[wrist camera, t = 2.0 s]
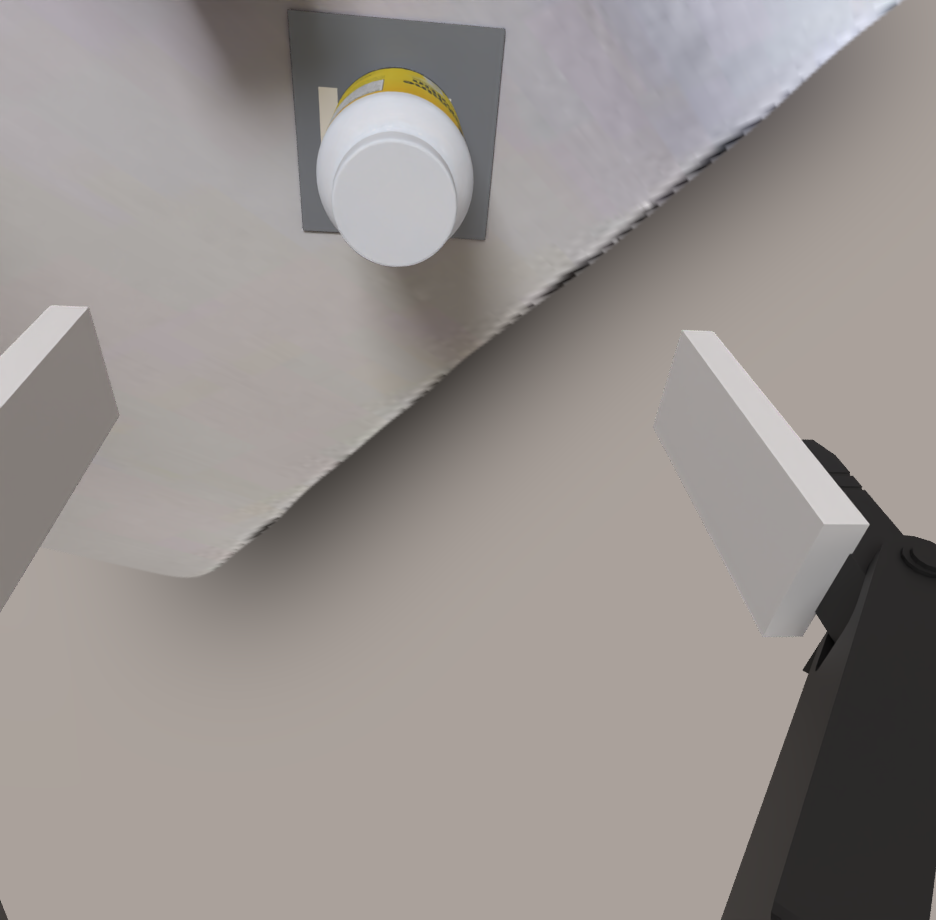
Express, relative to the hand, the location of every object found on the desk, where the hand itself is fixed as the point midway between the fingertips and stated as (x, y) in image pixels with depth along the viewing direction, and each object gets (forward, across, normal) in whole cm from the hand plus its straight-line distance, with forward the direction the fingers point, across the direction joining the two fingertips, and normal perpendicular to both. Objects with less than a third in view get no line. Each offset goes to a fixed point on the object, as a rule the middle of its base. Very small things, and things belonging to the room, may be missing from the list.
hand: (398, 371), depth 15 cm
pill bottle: (+24, 0, 0) cm, 24 cm away
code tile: (+24, 0, 0) cm, 24 cm away
